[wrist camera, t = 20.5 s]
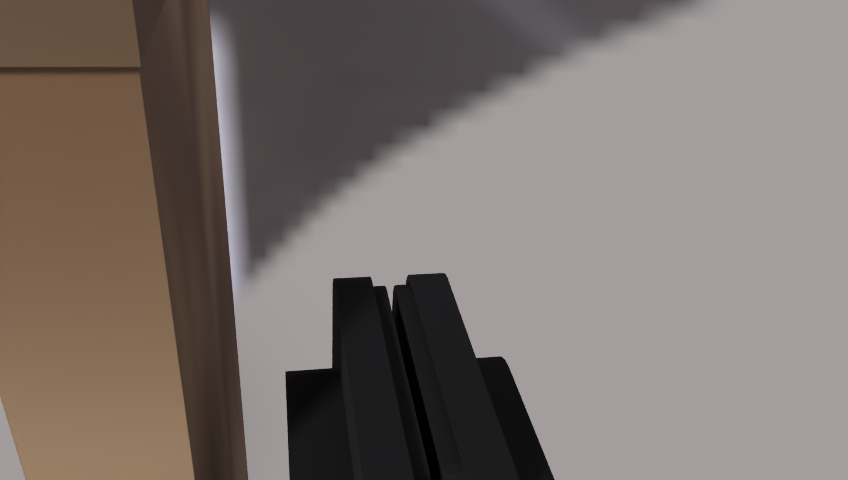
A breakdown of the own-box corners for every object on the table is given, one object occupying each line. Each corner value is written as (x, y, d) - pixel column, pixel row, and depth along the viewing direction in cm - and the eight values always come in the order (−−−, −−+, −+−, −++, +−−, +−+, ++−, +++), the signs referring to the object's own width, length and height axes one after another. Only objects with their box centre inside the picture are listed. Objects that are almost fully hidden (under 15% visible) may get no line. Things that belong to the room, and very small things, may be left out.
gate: (71, -246, 10) (-217, -226, 4) (194, -238, 11) (105, -209, 4) (199, 603, 21) (172, 993, 14) (261, 596, 21) (262, 974, 14)
